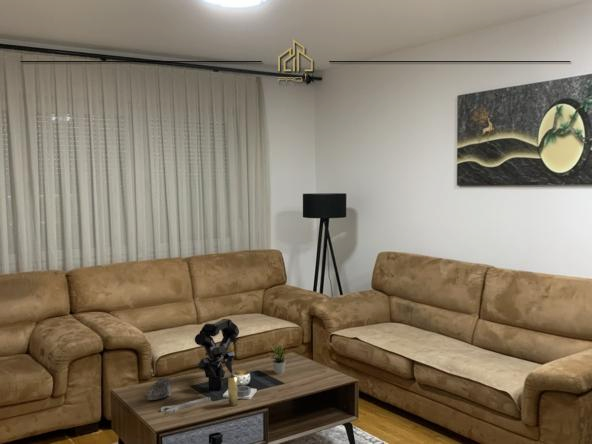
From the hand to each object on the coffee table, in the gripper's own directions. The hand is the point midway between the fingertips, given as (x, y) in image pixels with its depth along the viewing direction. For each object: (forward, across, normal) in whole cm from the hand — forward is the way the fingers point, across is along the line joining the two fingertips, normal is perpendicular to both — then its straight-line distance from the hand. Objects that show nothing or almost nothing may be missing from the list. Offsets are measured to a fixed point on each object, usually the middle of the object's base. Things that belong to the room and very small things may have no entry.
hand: (223, 375), depth 277 cm
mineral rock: (-9, -22, +27) cm, 36 cm away
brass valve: (+14, 0, +4) cm, 14 cm away
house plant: (-1, +45, +20) cm, 49 cm away
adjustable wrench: (+5, -17, +14) cm, 23 cm away
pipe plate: (+8, +10, +10) cm, 16 cm away
